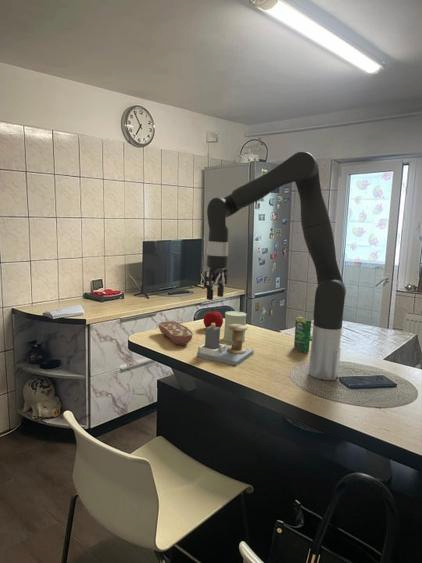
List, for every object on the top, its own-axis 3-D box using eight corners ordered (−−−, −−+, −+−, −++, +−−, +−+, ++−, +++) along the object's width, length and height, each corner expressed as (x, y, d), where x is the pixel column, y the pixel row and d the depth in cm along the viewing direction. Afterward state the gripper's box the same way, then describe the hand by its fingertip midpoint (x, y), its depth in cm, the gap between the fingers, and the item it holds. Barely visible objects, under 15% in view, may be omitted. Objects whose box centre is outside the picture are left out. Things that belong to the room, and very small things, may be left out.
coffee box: (292, 347, 171) (295, 316, 169) (299, 346, 172) (301, 316, 170) (302, 353, 164) (305, 321, 162) (309, 352, 165) (312, 320, 163)
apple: (215, 333, 185) (216, 311, 184) (198, 329, 190) (200, 308, 189) (226, 329, 193) (227, 308, 192) (209, 325, 198) (211, 305, 196)
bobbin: (248, 350, 158) (250, 326, 157) (241, 355, 152) (243, 329, 151) (231, 346, 161) (233, 323, 160) (224, 351, 155) (225, 326, 154)
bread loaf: (155, 333, 180) (155, 322, 180) (176, 331, 185) (176, 320, 184) (174, 349, 160) (174, 336, 159) (197, 346, 165) (198, 334, 164)
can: (248, 339, 178) (250, 312, 177) (238, 344, 171) (240, 316, 169) (230, 335, 183) (231, 309, 181) (219, 339, 175) (221, 312, 174)
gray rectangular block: (218, 350, 156) (220, 323, 154) (214, 353, 152) (215, 325, 151) (209, 348, 158) (210, 321, 156) (204, 351, 154) (206, 323, 152)
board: (253, 353, 159) (253, 345, 159) (236, 365, 145) (237, 356, 145) (216, 346, 166) (216, 337, 166) (196, 356, 152) (197, 347, 152)
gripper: (218, 256, 142) (215, 302, 144) (235, 254, 154) (232, 296, 156) (198, 254, 145) (196, 299, 147) (217, 252, 158) (214, 294, 160)
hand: (215, 298), depth 152 cm, fingers open, 8 cm apart
